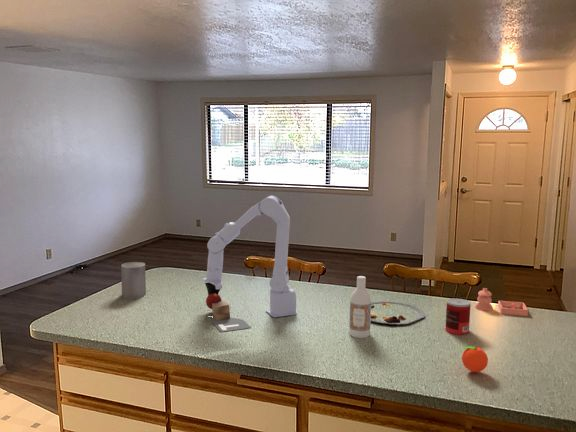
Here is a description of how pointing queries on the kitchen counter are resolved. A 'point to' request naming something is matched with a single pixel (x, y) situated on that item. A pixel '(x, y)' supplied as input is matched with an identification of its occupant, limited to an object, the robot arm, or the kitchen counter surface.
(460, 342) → the kitchen counter surface
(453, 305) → the canned food
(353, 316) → the bath foam
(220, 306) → the walnut block
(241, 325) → the letter mat
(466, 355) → the clementine
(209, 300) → the onion
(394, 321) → the food plate
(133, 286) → the pillar candle
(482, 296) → the pottery
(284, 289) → the robot arm
